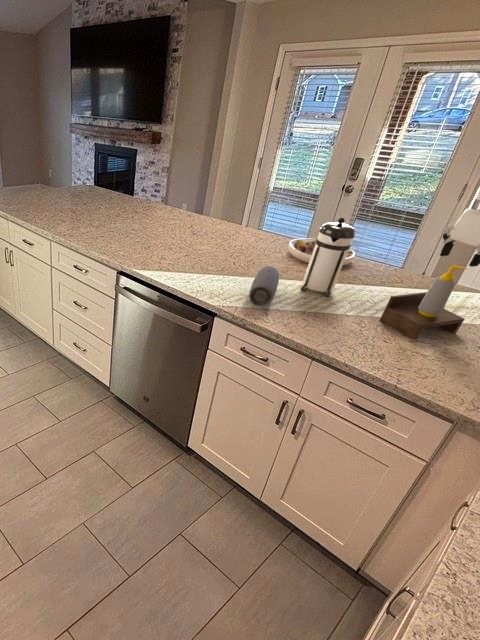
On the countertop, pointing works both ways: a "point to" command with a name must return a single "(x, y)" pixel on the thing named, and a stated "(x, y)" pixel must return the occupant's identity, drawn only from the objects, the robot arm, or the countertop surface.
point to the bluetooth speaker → (264, 286)
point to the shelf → (416, 316)
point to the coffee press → (328, 256)
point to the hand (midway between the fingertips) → (458, 260)
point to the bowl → (310, 250)
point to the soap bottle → (438, 293)
